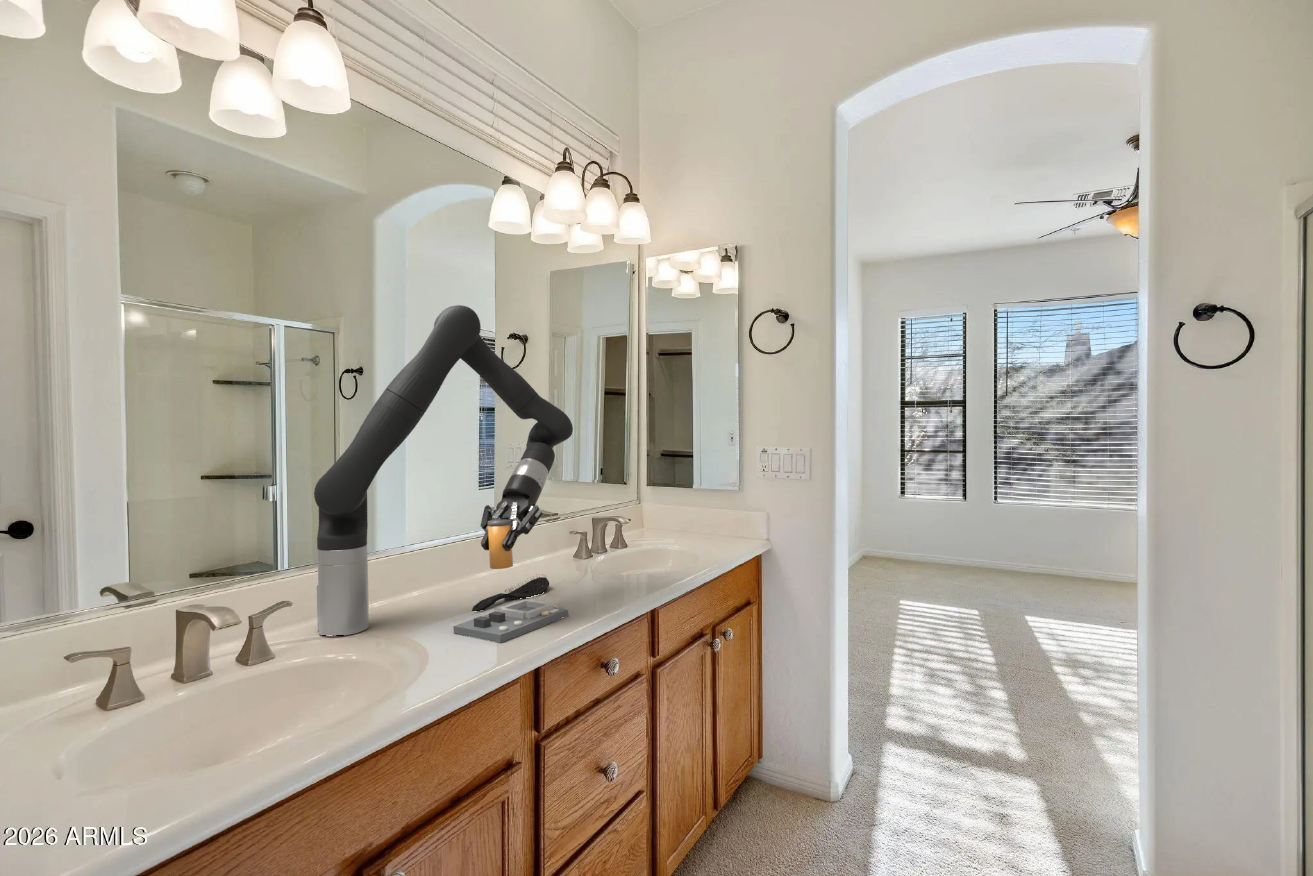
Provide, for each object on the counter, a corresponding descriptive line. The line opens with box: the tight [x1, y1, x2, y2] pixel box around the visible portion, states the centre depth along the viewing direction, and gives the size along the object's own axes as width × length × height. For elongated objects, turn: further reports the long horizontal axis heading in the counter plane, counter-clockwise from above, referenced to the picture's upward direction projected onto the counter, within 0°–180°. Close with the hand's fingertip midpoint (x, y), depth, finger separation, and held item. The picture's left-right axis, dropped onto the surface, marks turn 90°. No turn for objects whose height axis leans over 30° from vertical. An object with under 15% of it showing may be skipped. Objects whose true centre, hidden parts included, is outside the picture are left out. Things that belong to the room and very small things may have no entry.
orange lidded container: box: [488, 518, 514, 570], centre depth 127 cm, size 5×5×10 cm
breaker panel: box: [453, 599, 569, 644], centre depth 129 cm, size 13×20×3 cm, turn 149°
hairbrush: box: [471, 574, 550, 612], centre depth 150 cm, size 8×4×25 cm
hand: (495, 548), depth 126 cm, fingers closed on orange lidded container, 4 cm apart
